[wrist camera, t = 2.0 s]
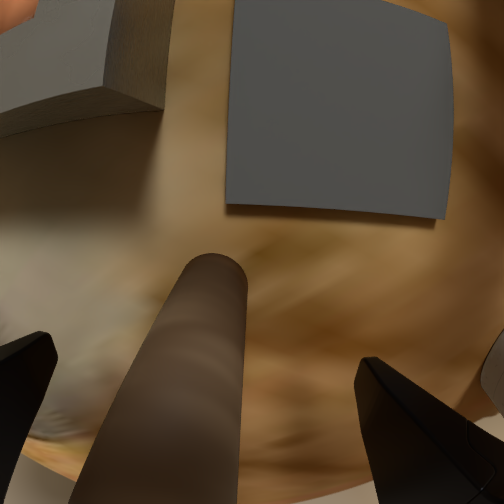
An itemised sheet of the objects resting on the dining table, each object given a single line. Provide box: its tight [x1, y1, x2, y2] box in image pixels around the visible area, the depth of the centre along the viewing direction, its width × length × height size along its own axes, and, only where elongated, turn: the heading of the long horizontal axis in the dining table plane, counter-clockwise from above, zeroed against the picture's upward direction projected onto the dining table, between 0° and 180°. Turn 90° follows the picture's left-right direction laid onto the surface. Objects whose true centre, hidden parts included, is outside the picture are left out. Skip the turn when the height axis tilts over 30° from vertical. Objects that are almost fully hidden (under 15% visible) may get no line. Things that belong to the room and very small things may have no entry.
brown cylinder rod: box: [68, 253, 248, 504], centre depth 8 cm, size 3×3×10 cm
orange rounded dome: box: [0, 0, 39, 35], centre depth 6 cm, size 3×3×2 cm
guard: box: [0, 0, 175, 138], centre depth 6 cm, size 10×10×5 cm
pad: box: [226, 0, 454, 220], centre depth 9 cm, size 9×9×1 cm
